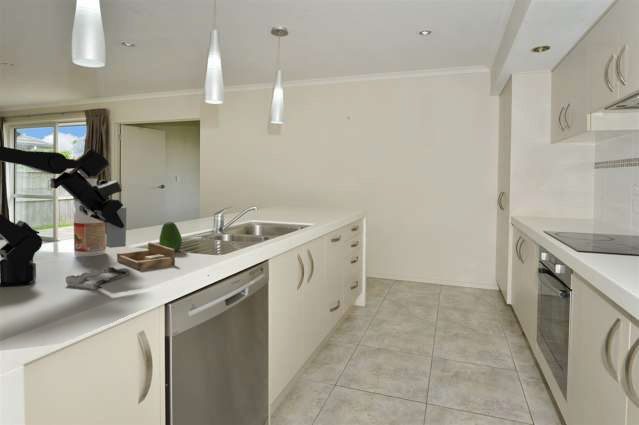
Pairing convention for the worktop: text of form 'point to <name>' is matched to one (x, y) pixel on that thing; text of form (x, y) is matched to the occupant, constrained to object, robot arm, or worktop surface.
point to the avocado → (170, 236)
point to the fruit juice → (88, 231)
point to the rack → (138, 257)
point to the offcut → (154, 257)
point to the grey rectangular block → (116, 231)
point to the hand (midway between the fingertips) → (120, 226)
